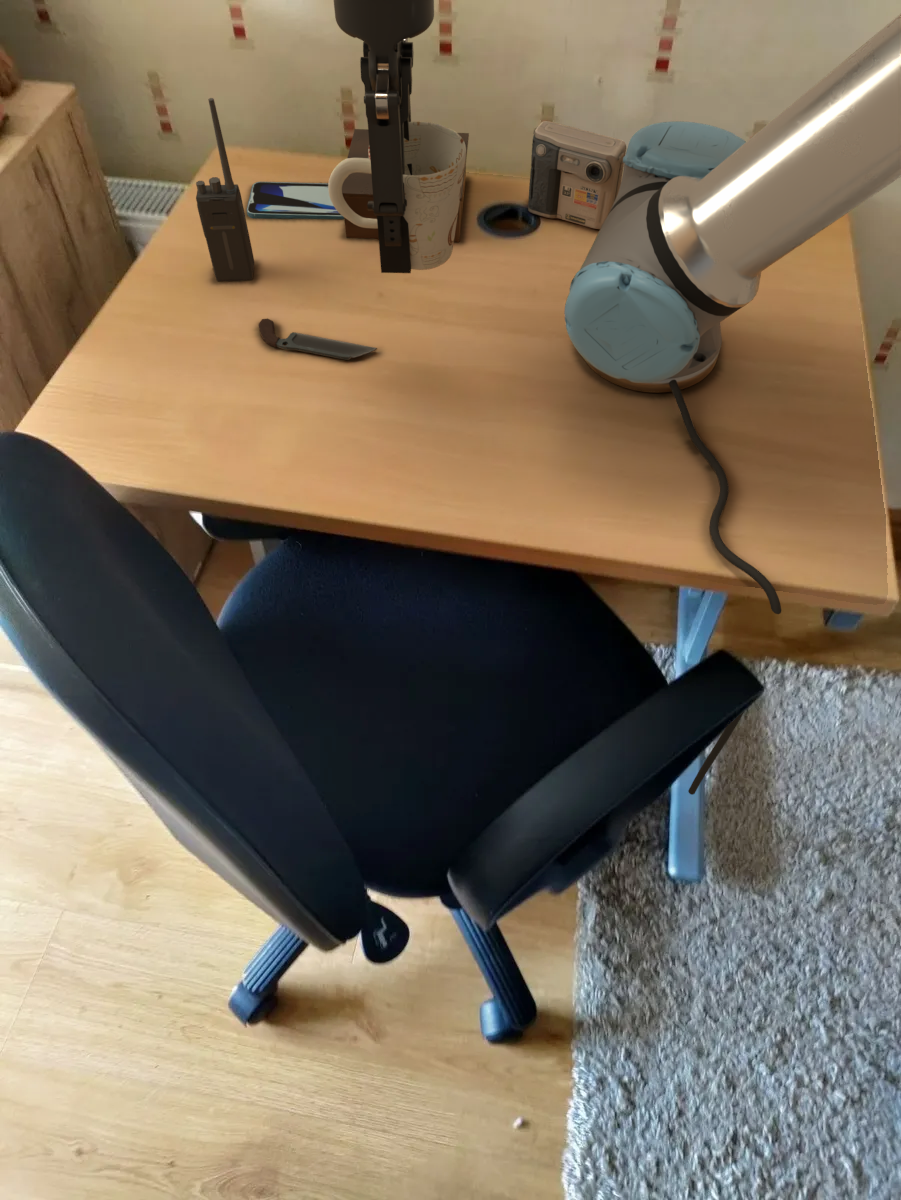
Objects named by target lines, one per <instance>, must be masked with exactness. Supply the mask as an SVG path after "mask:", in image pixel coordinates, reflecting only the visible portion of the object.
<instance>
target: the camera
mask: <svg viewBox="0 0 901 1200" xmlns="http://www.w3.org/2000/svg"><path fill="white" fill-rule="evenodd" d="M626 151H627V144H626V142H625V141H624V140H623V139H619V138H617V137H616V138H615V137H612V136H608V135H605V134H601V133H597V132H592V131H589V130H584V129H580V128H577V127H574V126H570V125H565V124H562V123H558V122H555V121H550V120H543V121H541V122H540V124H539V125H538V126H536V127H535V129H534V130H533V136H532V143H531V156H530V157H531V160H530V161H531V162H530V172H529V173H530V174H529V175H530V176H529V186H528V202H527V206H528V207H527V209H528V212H529V213H530V214H533V215H536V216H540V217H543V218H546V219H560V220H563V221H566V222H570V223H573V224H577V225H579V226H583V227H586V228H590V229H593V230H600V229H601V227H602V225H603V223H604V221H605V219H606V218H607V216H608V214H609V212H610V210H611V208H612V206H613V204H614V202H615V200H616V197H617V195H618V192H619V189H620V185H621V181H622V176H623V170H624V163H623V157H624V156H625V155H626Z"/></svg>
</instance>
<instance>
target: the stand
mask: <svg viewBox="0 0 901 1200" xmlns="http://www.w3.org/2000/svg"><path fill="white" fill-rule="evenodd" d="M457 133H458V134H459V135H460V136H461V137H462V139H463V140H464V142H465V146H466V160H465V167H464V174H463V181H462V188H461V195H460V202H459V209H458V216H457V223H456V230H455V237H454V243H459V242H460V237H461V229H462V228H461V227H462V220H463V210H464V209H463V208H464V200H465V199H464V198H465V191H466V181H467V157H468V150H469V149H468V148H469V139H470V133H469V132H457ZM368 149H369V133H368V128H367V129H366V128H354V130H353V133H352V138H351V142H350V145H349V149H348V154H347V157H346V159H348V158H369V155H368ZM342 195H343V198H344V200H345V201H346V203H347V205H348V206H349V207H350V208H351V209H352V210H353V211H354V212H355V213H356V214H358V215H359V216H361V217H363V218H371V219H377V216H375V214H374V211H373V210H368V208H367V204H368V202H369V201H373V189H372V175H371V174H369V173H360V172H355V173H351V174H350V175H349V176H348V177H347V178H346V179H345V180H344V182H343V185H342ZM343 220H344V229H345V237H346V238H350V239H351V238H352V239H372V240H373V239H374V240H375V239H376V240H377V239H378V240H379V238H378V228H363V227H359V226H357V225H355V224H353V223H352V222H350V221H349V220H347V219H346V218H345V217H344V219H343Z"/></svg>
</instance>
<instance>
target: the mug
mask: <svg viewBox="0 0 901 1200" xmlns="http://www.w3.org/2000/svg"><path fill="white" fill-rule="evenodd" d="M458 133H459V132H457V131H455V130H454V129H452V128H450V127H448V126H446V125H442V124H440V123H436V122H430V121H420V120H419V121H411V122H409V141H408V140H406V139H405V138H404V160H405V175H404V174H403V183H404V191H405V199H406V200H407V206H406V211H405V214H404V218H405V220H406V221H407V222H408V228H409V243H410V259H411V270H414V271H426V270H432V269H435V268H438V267H440V266H442V265H444V264H445V263H446V262H447V261H448V260H449V259H450V258H451V256H452V253H453V250H454V245H455V244H454V243H455V242H454V237H455V230H456V223H457V216H458V209H459V202H460V195H461V188H462V181H463V174H464V167H465V160H466V161H467V159H466V146H465V142H464V140H463V139H462V137H461V136H460V135H459V134H458ZM368 155H369V158H348V159H347V158H344V159H343V160H341V161H340V162H338V164H337V165H336V166H334V168H333V170H332V171H331V173H330V175H329V178H328V183H329V184H328V191H329V196H330V199H331V202H332V204H333V205H334V207H335V208H336V210H337V211H338V212H339V213H340V214H341V215H342V216H343V217H345V218H346V219H347V220H349V221H350V222H352V223H353V224H355V225H357V226H359V227H363V228H378V225H377V219H371V218H363V217H361V216H359V215H358V214H356V213H355V212H354V211H353V210H352V209H351V208H350V207H349V206H348V205H347V203H346V201H345V200H344V198H343V195H342V185H343V182H344V180H345V179H346V178H347V177H348V176H349V175H350V174H351V173H355V172H360V173H369V174H371V161H370V147H369V149H368ZM411 163H412V175H411V174H410V172H409V169H408V166H407V164H411Z"/></svg>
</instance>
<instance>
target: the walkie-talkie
mask: <svg viewBox="0 0 901 1200" xmlns="http://www.w3.org/2000/svg"><path fill="white" fill-rule="evenodd" d="M208 104H209V109H210V115H211V120H212V124H213V130H214V135H215V139H216V144H217V149H218V156H219V160H220V165H221V170H222V174H223V175H222V176H223V180H224V184H222V183H221V179H220V178H219V177H218V176H217V177H216V176H212V177H210V178H209V179H208V183H209V184H206V183H205V181H204V180H197V181H196V183H195V185H196V189H197V191H196V196H195V200H196V208H197V211H198V215H199V219H200V223H201V228H202V232H203V236H204V238H205V241H206V245H207V250H208V253H209V258H210V261H211V265H212V269H213V275H214V277H215V280H216V281H217V282H237V281H239V282H240V281H253V278H254V277H253V276H254V269H255V257H254V251H253V248H252V243H251V238H250V233H249V228H248V222H247V218H246V213H245V209H244V204H243V199H242V193H241V190H240V187H239V184H237V183H234V180H233V176H232V172H231V168H230V162H229V158H228V154H227V150H226V145H225V141H224V138H223V137H224V136H223V132H222V129H221V128H222V127H221V124H220V119H219V116H218V111H217V106H216V102H215V98H214V97H210V98H208Z"/></svg>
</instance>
